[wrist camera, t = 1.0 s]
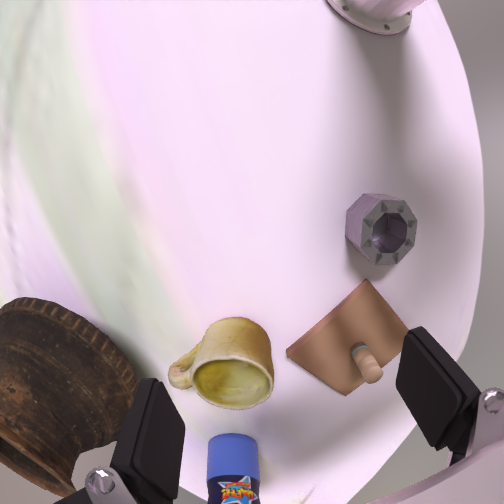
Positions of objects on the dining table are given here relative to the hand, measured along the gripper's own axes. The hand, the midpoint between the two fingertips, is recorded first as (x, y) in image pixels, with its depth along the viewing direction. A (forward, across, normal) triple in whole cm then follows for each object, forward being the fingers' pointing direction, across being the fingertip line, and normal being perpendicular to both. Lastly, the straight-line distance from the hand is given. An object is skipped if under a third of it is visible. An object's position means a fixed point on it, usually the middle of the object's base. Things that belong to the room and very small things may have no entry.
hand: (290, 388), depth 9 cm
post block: (+23, -12, +18) cm, 31 cm away
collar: (+23, -14, +1) cm, 27 cm away
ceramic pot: (+23, +28, +13) cm, 39 cm away
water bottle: (+23, +10, +39) cm, 46 cm away
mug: (+23, +6, +14) cm, 28 cm away
